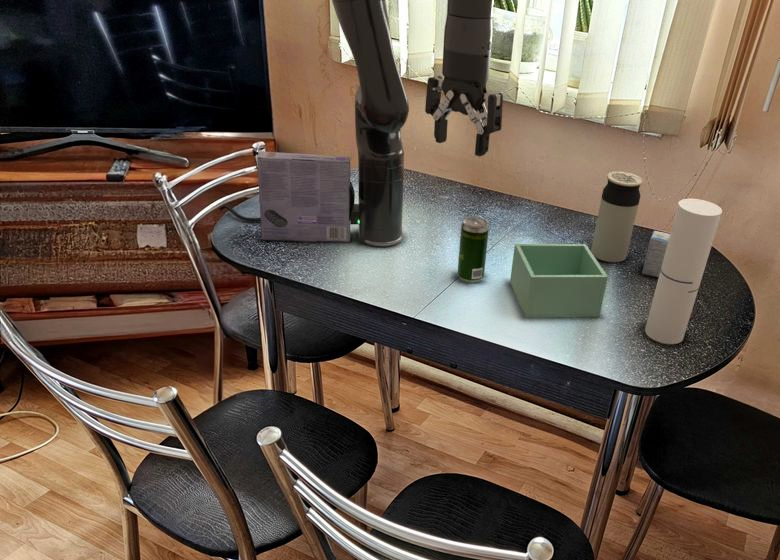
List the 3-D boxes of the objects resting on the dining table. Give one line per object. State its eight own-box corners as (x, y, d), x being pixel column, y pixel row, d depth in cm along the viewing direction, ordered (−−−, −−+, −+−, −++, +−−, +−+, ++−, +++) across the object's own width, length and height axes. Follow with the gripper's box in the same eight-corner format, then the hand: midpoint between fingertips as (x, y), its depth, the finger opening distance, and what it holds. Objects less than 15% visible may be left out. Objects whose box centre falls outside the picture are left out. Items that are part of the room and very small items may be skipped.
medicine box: (680, 274, 148) (690, 237, 143) (678, 283, 144) (688, 246, 140) (644, 265, 150) (653, 229, 145) (641, 274, 146) (650, 237, 141)
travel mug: (604, 265, 148) (621, 186, 138) (583, 249, 154) (598, 172, 144) (633, 260, 151) (651, 183, 141) (612, 245, 157) (628, 169, 147)
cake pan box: (355, 233, 149) (354, 153, 140) (355, 243, 145) (354, 162, 136) (263, 231, 146) (256, 149, 136) (261, 241, 142) (253, 158, 132)
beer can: (489, 279, 138) (495, 224, 131) (468, 286, 135) (473, 230, 128) (472, 268, 141) (477, 214, 134) (451, 274, 138) (455, 219, 131)
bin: (525, 318, 127) (531, 277, 122) (509, 282, 137) (514, 243, 133) (599, 316, 130) (608, 276, 125) (578, 282, 140) (585, 244, 136)
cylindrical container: (640, 322, 129) (673, 197, 115) (676, 323, 130) (713, 199, 116) (651, 343, 123) (686, 214, 109) (688, 344, 124) (728, 216, 110)
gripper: (417, 40, 108) (414, 142, 117) (489, 58, 101) (480, 164, 110) (447, 36, 113) (442, 134, 122) (518, 53, 106) (507, 155, 116)
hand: (460, 148), depth 116 cm, fingers open, 8 cm apart
